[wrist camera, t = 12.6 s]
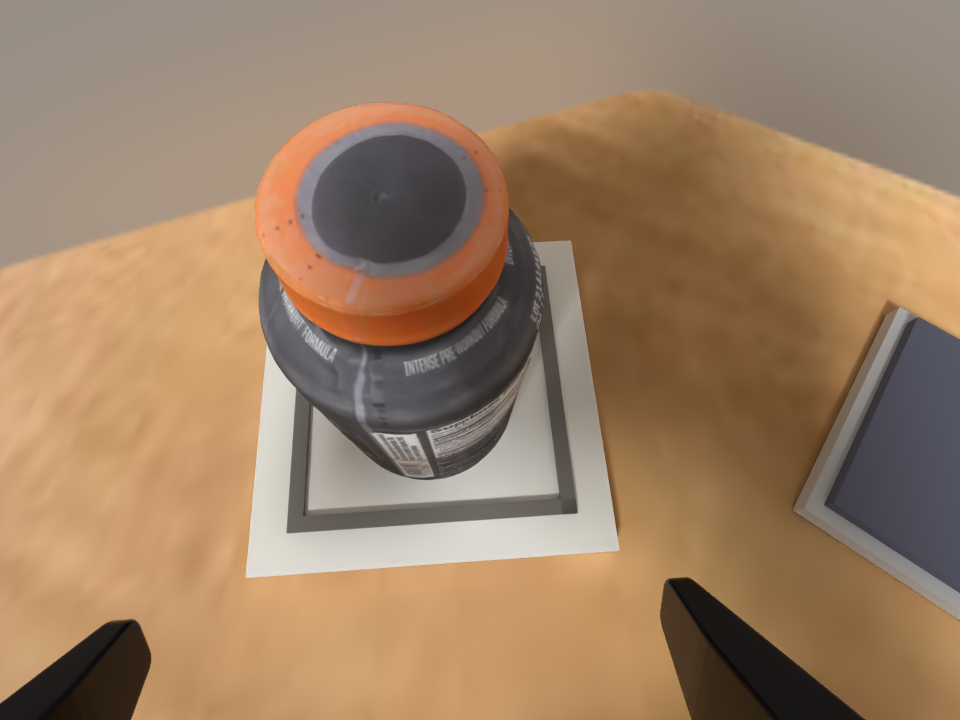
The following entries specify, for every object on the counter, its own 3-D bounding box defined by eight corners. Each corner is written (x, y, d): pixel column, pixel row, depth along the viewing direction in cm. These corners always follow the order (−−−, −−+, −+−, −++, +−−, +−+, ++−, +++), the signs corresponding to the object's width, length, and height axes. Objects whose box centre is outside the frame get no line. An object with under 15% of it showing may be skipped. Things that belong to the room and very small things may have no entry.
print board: (613, 551, 17) (621, 550, 16) (255, 577, 17) (243, 578, 16) (567, 251, 22) (571, 237, 21) (282, 264, 21) (273, 250, 20)
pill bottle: (335, 341, 19) (174, 75, 8) (489, 309, 20) (519, 26, 9) (360, 501, 17) (188, 415, 6) (531, 460, 18) (630, 321, 7)
